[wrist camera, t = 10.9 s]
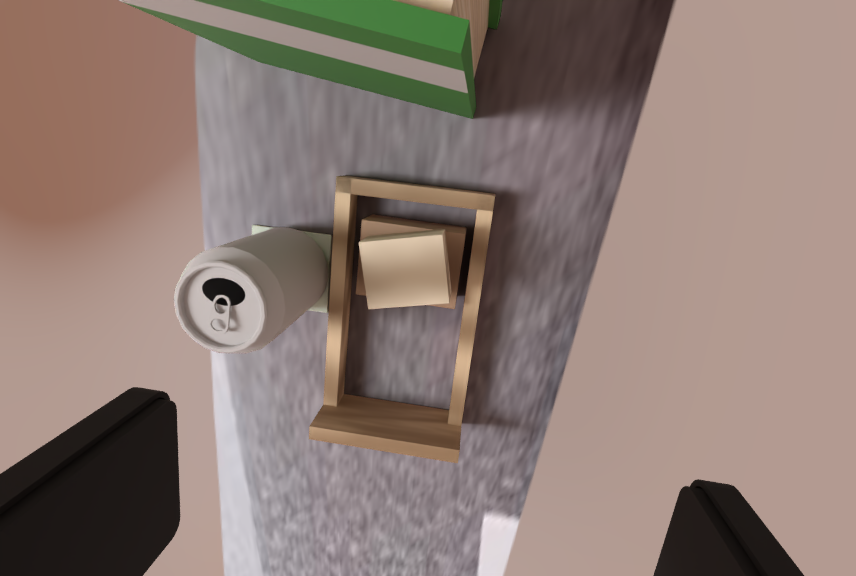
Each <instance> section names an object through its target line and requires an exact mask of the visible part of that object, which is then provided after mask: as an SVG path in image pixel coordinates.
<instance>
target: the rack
mask: <svg viewBox="0 0 856 576" xmlns="http://www.w3.org/2000/svg"><path fill="white" fill-rule="evenodd" d="M358 195H363V196H371V197H380V198H388V199H396V200H404V201H412V202H420V203H428V204H436V205H444V206H453V207H461V208H469V209H477V214H476V221H475V228H474V235H473V243H472V250H471V257H470V264H469V271H468V279H467V286H466V293H465V300H464V308H463V315H462V322H461V329H460V337H459V344H458V351H457V358H456V365H455V373H454V380H453V387H452V394H451V402H450V409H449V410H445V409H438V408H432V407H426V406H419V405H413V404H406V403H400V402H393V401H387V400H380V399H374V398H367V397H361V396H354V395H348V394H344V386H345V371H346V357H347V343H348V328H349V314H350V300H351V285H352V271H353V257H354V242H355V228H356V214H357V199H358ZM494 200H495V194H494V193H486V192H478V191H469V190H461V189H453V188H444V187H436V186H428V185H420V184H411V183H403V182H395V181H386V180H378V179H370V178H361V177H353V176H337V177H336V194H335V211H334V229H333V246H332V264H331V281H330V299H329V316H328V334H327V351H326V369H325V386H324V404H323V406H322V408H321V409H320V411H319V412H318V414H317V415H316V417H315V419H314V420H313V422H312V423H311V425H310V428H309V439H312V440H318V441H324V442H330V443H337V444H343V445H349V446H355V447H361V448H367V449H374V450H380V451H386V452H392V453H398V454H404V455H411V456H417V457H423V458H429V459H435V460H441V461H447V462H454V463H458V457H459V450H460V436H461V424H462V417H463V411H464V404H465V397H466V390H467V383H468V377H469V370H470V363H471V356H472V350H473V343H474V336H475V329H476V322H477V316H478V309H479V302H480V295H481V289H482V282H483V275H484V268H485V261H486V255H487V248H488V241H489V234H490V227H491V221H492V214H493V207H494Z"/></svg>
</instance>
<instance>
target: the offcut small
mask: <svg viewBox="0 0 856 576" xmlns="http://www.w3.org/2000/svg"><path fill="white" fill-rule="evenodd" d="M359 249H360V255H361V262H362V269H363V276H364V283H365V290H366V297H367V304H368V309H379V308H392V307H406V306H419V305H432V304H446V303H449V302H450V297H451V282H450V272H449V262H448V252H447V242H446V232H445V229H436V230H426V231H415V232H405V233H394V234H383V235H373V236H367V237H366V238H364V239H363V240H361V241H360V242H359Z"/></svg>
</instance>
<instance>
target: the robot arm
mask: <svg viewBox="0 0 856 576" xmlns="http://www.w3.org/2000/svg"><path fill="white" fill-rule="evenodd" d="M179 522H180V496H179V466H178V436H177V409H176V405H175V403H174V402H173V401H170V398H169V396H168V394H167V393H165V392H163V391H157V390H151V389H145V388H138V387H133V388H131V389H129V390H127V391H125V392H124V393H122V394H121V395H119V396H118V397H116V398H115V399H113V400H112V401H110V402H109V403H107V404H106V405H104V406H103V407H101V408H100V409H98V410H97V411H95V412H94V413H92V414H91V415H89V416H87V417H86V418H84V419H83V420H81V421H80V422H78V423H77V424H75V425H74V426H72V427H71V428H69V429H68V430H66V431H65V432H63V433H62V434H60V435H59V436H57V437H56V438H54V439H53V440H51V441H50V442H48V443H47V444H45V445H44V446H42V447H40V448H39V449H37V450H36V451H34V452H33V453H31V454H30V455H28V456H27V457H25V458H24V459H22V460H21V461H19V462H18V463H16V464H15V465H13V466H12V467H10V468H9V469H7V470H6V471H4V472H3V473H1V474H0V576H143V575H144V573H145V572H146V571H147V570H148V568H149V567H150V566H151V565H152V563H153V562H154V561H155V559H157V557H158V556H159V555H160V554H161V552H162V551H163V550H164V549H165V547H166V546H167V545H168V544H169V542H170V541H171V540H172V538H173V537H174V535H175V533H176V531H177V529H178V526H179ZM654 576H804V575H803V573H802V572H801V571H800V570H799V568H798V567H797V566H796V564H795V563H794V562H793V561H792V559H791V558H790V557H789V555H788V554H787V553H786V551H785V550H784V549H783V548H782V546H781V545H780V544H779V542H778V541H777V540H776V539H775V537H774V536H773V535H772V533H771V532H770V531H769V530H768V528H767V527H766V526H765V524H764V523H763V522H762V520H761V519H760V518H759V517H758V515H757V514H756V513H755V511H754V510H753V509H752V508H751V506H750V505H749V504H748V503H747V501H746V500H745V499H744V497H743V496H742V495H741V493H740V492H739V491H738V490H737V489H736V488H735V487H734V486H732V485H729V484H722V483H716V482H710V481H704V480H695V481H693V483H692V484H691V486H690V487H688V486H685V487H683V488H682V489H681V491H680V493H679V496H678V499H677V502H676V506H675V509H674V512H673V515H672V518H671V521H670V525H669V528H668V531H667V534H666V538H665V541H664V544H663V547H662V550H661V554H660V557H659V560H658V563H657V566H656V569H655V573H654Z"/></svg>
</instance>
